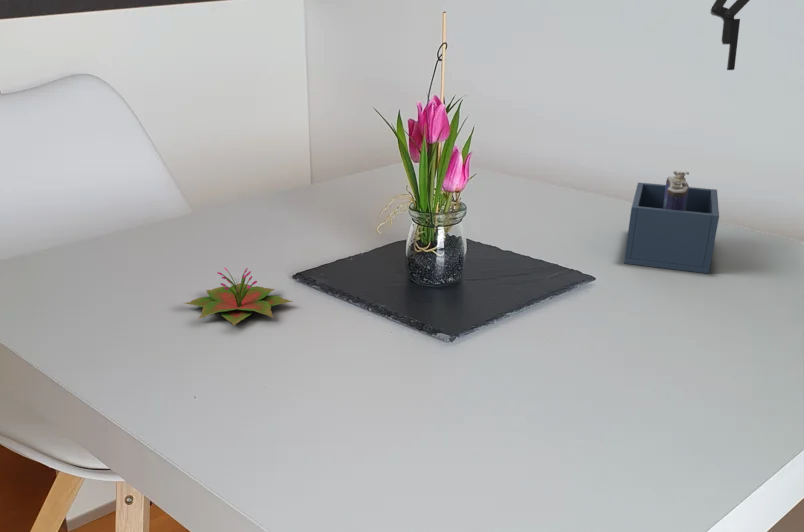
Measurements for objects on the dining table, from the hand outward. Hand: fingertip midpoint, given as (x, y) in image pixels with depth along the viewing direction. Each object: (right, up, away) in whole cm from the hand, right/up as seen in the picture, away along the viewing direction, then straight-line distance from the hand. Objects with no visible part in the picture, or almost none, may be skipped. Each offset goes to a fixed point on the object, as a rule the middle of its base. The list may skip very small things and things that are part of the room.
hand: (785, 70), depth 112 cm
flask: (-15, -24, +3) cm, 28 cm away
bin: (-15, -24, +3) cm, 29 cm away
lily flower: (-71, -32, -15) cm, 80 cm away
